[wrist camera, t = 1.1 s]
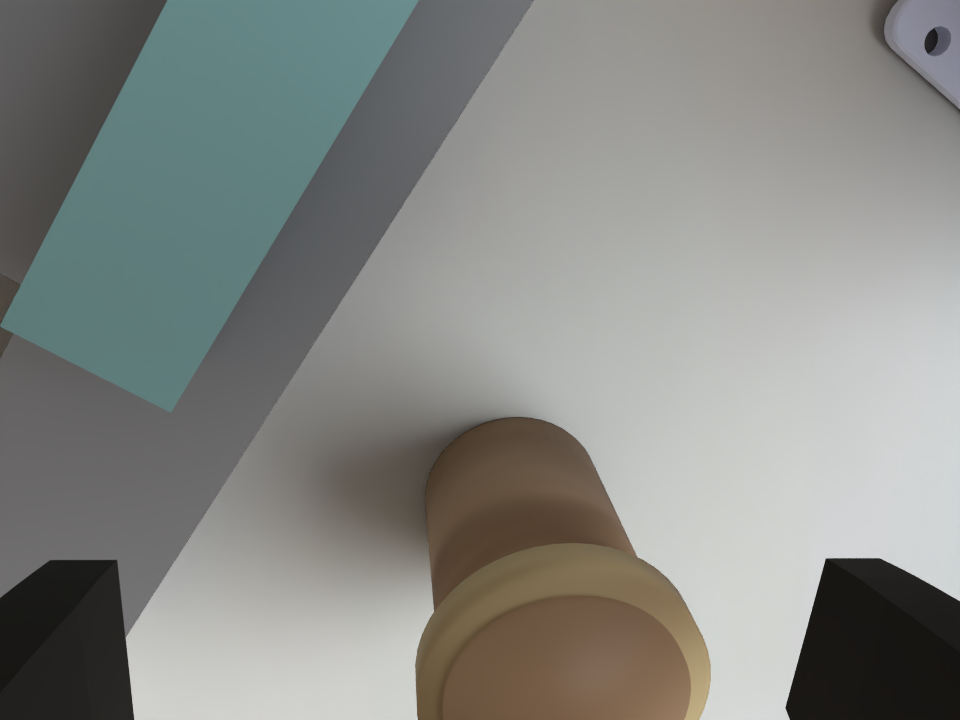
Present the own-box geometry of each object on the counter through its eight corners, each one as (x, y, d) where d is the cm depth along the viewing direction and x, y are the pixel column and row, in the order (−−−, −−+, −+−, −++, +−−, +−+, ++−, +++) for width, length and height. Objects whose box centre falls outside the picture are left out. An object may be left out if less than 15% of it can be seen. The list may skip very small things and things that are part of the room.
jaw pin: (654, 464, 19) (775, 659, 13) (535, 611, 20) (596, 850, 14) (485, 362, 18) (534, 531, 12) (368, 527, 19) (359, 754, 13)
